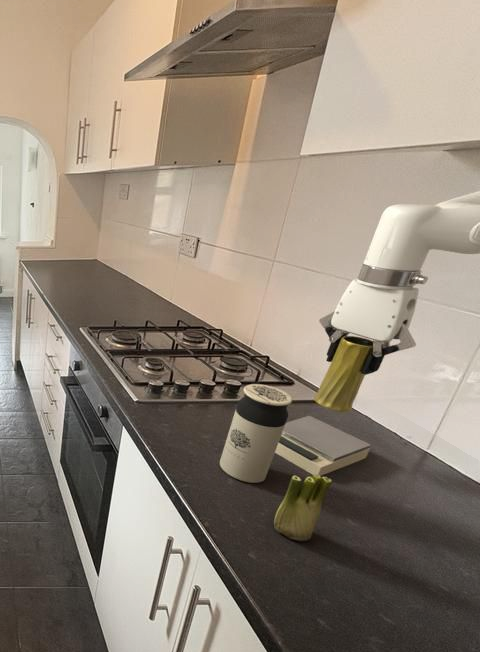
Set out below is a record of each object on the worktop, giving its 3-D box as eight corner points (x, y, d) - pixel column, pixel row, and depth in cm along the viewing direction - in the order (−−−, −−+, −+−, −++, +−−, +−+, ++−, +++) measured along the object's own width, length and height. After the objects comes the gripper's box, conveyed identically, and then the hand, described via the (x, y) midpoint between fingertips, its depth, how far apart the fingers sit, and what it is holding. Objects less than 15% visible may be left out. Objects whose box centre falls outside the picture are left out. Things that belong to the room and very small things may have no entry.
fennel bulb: (269, 535, 69) (292, 478, 64) (268, 515, 73) (289, 461, 68) (313, 550, 66) (340, 492, 62) (309, 529, 70) (334, 473, 65)
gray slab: (308, 418, 96) (309, 415, 96) (369, 447, 86) (371, 444, 86) (273, 429, 92) (274, 426, 92) (333, 461, 82) (334, 458, 82)
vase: (311, 393, 90) (336, 332, 84) (348, 401, 87) (376, 338, 81) (315, 406, 85) (342, 343, 79) (354, 415, 82) (385, 350, 76)
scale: (305, 428, 98) (309, 416, 96) (365, 458, 87) (371, 446, 86) (258, 443, 92) (262, 431, 91) (317, 477, 82) (322, 464, 81)
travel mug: (246, 457, 88) (272, 382, 80) (274, 483, 81) (305, 403, 73) (210, 458, 87) (233, 383, 80) (235, 485, 80) (262, 405, 73)
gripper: (463, 286, 69) (415, 382, 76) (345, 265, 83) (314, 348, 91) (438, 290, 66) (391, 389, 74) (321, 268, 81) (292, 353, 88)
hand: (349, 365), depth 82 cm, fingers closed on vase, 5 cm apart
